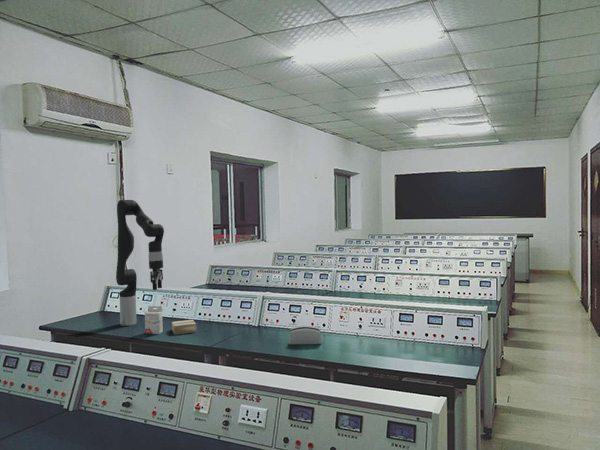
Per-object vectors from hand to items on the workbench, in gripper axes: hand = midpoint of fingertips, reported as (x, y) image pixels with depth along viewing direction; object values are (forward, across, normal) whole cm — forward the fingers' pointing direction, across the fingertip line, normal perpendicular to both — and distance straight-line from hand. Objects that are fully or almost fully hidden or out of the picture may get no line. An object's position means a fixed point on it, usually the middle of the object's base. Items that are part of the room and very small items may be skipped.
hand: (157, 289), depth 270 cm
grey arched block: (+29, +26, +81) cm, 90 cm away
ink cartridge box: (+25, -1, -4) cm, 25 cm away
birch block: (+25, -4, +12) cm, 28 cm away
